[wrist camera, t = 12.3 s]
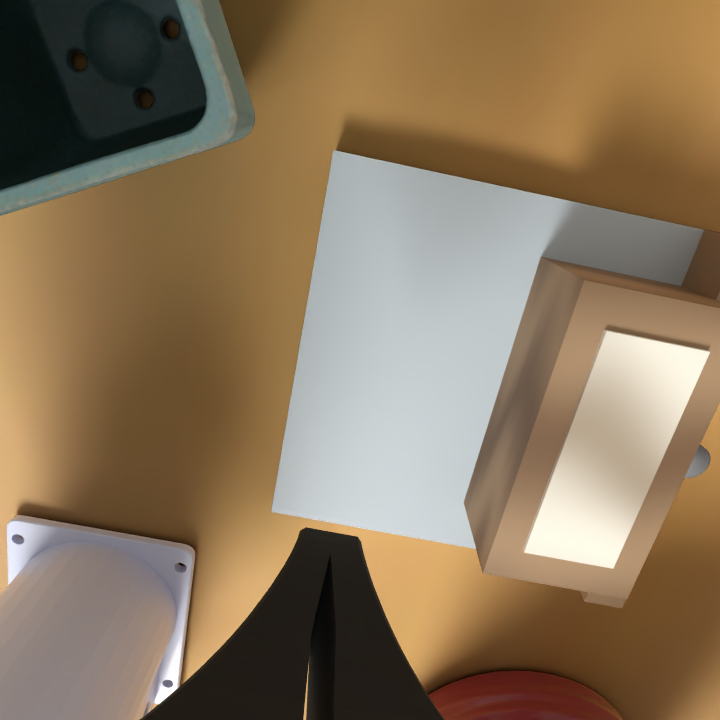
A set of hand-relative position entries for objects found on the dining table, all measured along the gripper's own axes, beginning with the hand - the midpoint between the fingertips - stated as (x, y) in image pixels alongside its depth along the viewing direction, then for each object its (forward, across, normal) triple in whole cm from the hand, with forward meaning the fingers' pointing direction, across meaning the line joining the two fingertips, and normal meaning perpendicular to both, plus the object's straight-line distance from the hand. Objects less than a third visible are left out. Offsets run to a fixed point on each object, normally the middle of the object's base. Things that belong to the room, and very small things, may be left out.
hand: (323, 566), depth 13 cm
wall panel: (+9, -5, -2) cm, 11 cm away
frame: (+8, -8, -2) cm, 12 cm away
